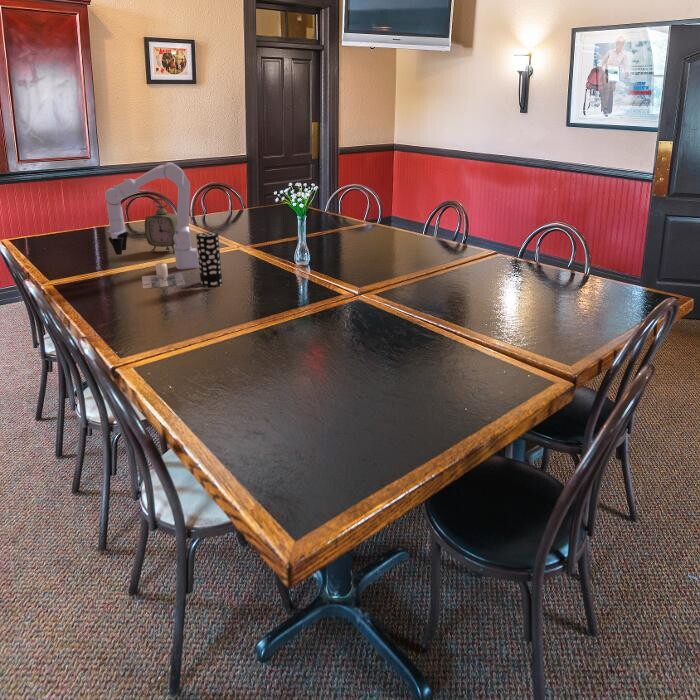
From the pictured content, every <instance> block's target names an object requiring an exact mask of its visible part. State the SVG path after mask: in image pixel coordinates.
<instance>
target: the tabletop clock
mask: <svg viewBox="0 0 700 700" xmlns="http://www.w3.org/2000/svg"><path fill="white" fill-rule="evenodd" d="M156 201H164V202H165V203H166V205H164V206H163V204H159V205H156V204H155V202H156ZM168 203H169V202H168V201H167V200H166V199H165V198H155V199H154V200H153V202H152V204H153V206H154V207H156V208H157V209H156V211H155V213H154V214H152V215H148V216H147V217H145V218H144V233H145V234H144V235H145V239H146V242H147V243H148V245H150V246H153V249H151V250H150V251H151V253H152V252H154V253H155V251H156V247H161V248H165V247H166V248H165V250H166V251H167V250H169V251H170V247H171V249H172V253H173V254H175V249H174V248H175V246H174V245H176V244H175V242H174V240H173V236H174V234H175V232H176V226H177V214H175V213H170V212H169V213H168V211H167V210H166V209H165V208H167V206H168Z"/></svg>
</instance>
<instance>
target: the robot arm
mask: <svg viewBox="0 0 700 700" xmlns="http://www.w3.org/2000/svg"><path fill="white" fill-rule="evenodd" d="M166 178H167V179H168V180H170V181H172V182H173V183H174V184H175V185H176V186H177V212H176V215H177V226H176V232H175V234H174V236H173V240H174V242H175V244H174V245H175V246H174V250H175V253H174V257H175V266H176V269H178V270H189V269H198V268H199V260H198V249H197V247H192V244H193V243H192V242H193V241H192V239H191V237H190V232H191V231H190V226H189V225H190V201H191V183H190V181H189V178H188V177H187V176H186V174H185V172H184V170H183V169H182V168H181V167H180V166H178V165H177V164H175V163H174V162H171V161H169V162H168V161H167V162H164V163H163V164H160V165H158V166H155V167H154V168H152V169H150V170H148V171H147V172H145V173H143V174H142V175H140V176H138V177H137V178H135V179H133V178H124V179H123V182H121V183H118V184H117V185H116V184H114V185H112V187H110V188H108V189H107V190H106V191H104V192H105V193H104V199H105V200H106V209H107V217H108V223H109V229H108V230H107V233H110V236H109V237H108V241H109V242H110V244H111V246H112V248H113V250H114V254H115V255H116V256H118V255H120V256H122V254H123V251H126V250H127V240H128V236H129V233H130V232H129V231H127V230H126V226H125V219H124V213H123V207H122V199H126V198H127V199H128V197H130V196H132V195H134V194H135V193H138V192H139V188H140V187H142V186H143V185H146V184H148V183H149V182H152V181H154V180H156V179H162V180H163V179H164V180H165V179H166Z"/></svg>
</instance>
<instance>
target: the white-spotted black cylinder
mask: <svg viewBox="0 0 700 700" xmlns="http://www.w3.org/2000/svg"><path fill="white" fill-rule="evenodd" d="M195 238H196V248H197V254H198V261H199V269H198V270H199V279H200V285H203V286H202V288H206V289H212V288H213V289H214V288H218V287H221V286H223V274H222V265H221V264H222V263H221V262H222V261H221V251H220V241H219V240H220V239H219V233H218V232H212V231H211V232H209V231H208V232H207V231H206V232H200V233H196V235H195Z"/></svg>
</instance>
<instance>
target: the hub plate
mask: <svg viewBox="0 0 700 700" xmlns="http://www.w3.org/2000/svg"><path fill="white" fill-rule="evenodd" d="M141 281H142V282H141V283H142V289H150V288H151V289H152V288H162V287H163V288H164V287H172V286H173V287H175V286H184V285H186V281H185V278H184V275H183V272H176V273H168V276H167V277H165V278H159V277H157V274H155V275H154V274H153V275H142V276H141Z"/></svg>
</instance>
